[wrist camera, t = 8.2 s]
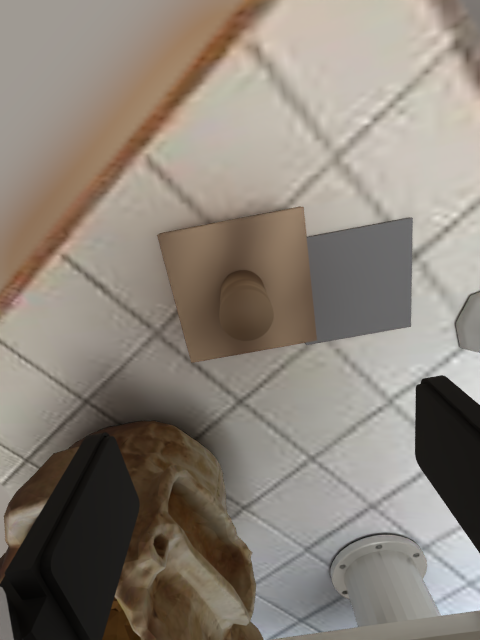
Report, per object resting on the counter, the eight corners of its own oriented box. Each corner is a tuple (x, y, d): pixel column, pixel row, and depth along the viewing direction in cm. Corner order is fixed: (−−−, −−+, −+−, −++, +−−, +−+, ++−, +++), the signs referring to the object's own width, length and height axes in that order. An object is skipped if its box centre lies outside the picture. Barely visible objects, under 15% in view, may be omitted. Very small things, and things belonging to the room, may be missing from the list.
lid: (300, 206, 23) (323, 212, 17) (313, 335, 27) (336, 373, 21) (160, 233, 23) (139, 247, 18) (192, 356, 27) (183, 400, 22)
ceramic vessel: (-147, 501, 26) (-538, 1114, 7) (122, 341, 39) (266, 390, 19) (20, 651, 34) (68, 1141, 14) (200, 478, 47) (360, 614, 27)
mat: (408, 324, 32) (410, 326, 31) (305, 343, 32) (306, 345, 32) (410, 217, 28) (412, 218, 28) (293, 239, 28) (293, 240, 28)
